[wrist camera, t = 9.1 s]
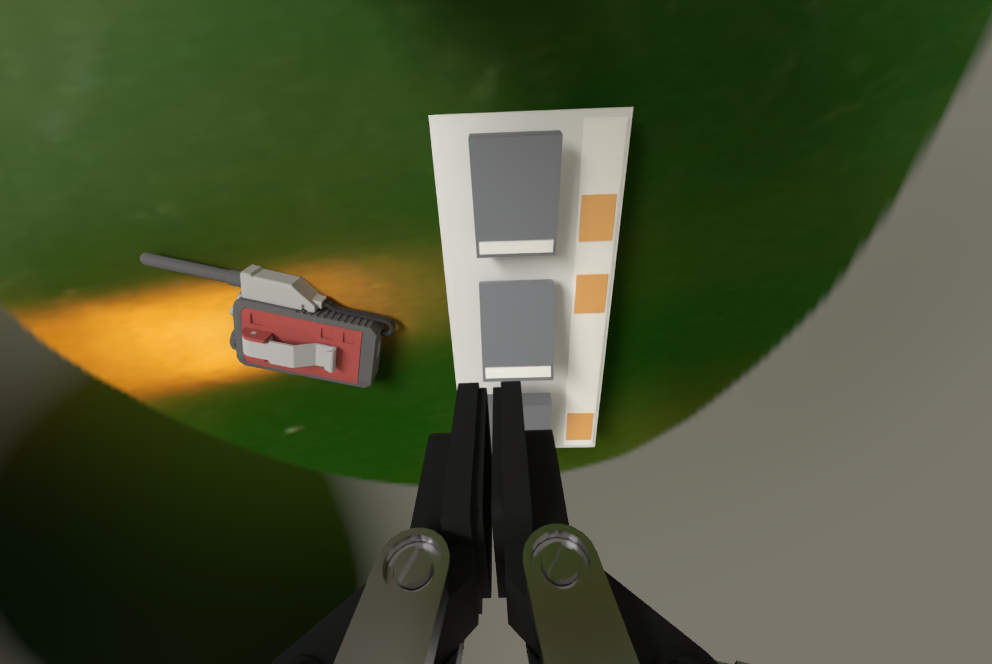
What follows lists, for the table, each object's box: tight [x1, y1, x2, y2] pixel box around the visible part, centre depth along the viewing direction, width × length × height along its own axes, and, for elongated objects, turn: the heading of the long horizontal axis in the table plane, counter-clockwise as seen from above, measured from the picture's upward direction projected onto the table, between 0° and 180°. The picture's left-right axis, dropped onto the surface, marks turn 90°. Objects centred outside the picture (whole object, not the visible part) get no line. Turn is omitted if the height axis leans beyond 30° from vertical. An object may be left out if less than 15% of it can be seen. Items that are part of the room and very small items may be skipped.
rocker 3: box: [487, 393, 552, 448], centre depth 32 cm, size 7×5×1 cm
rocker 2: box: [479, 279, 554, 382], centre depth 28 cm, size 7×5×1 cm
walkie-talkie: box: [140, 253, 396, 388], centre depth 33 cm, size 9×4×20 cm
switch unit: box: [428, 107, 633, 448], centre depth 31 cm, size 27×12×5 cm, turn 2°
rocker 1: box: [468, 130, 563, 258], centre depth 24 cm, size 7×5×1 cm
